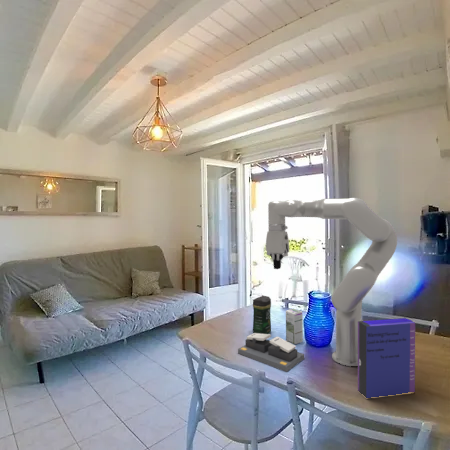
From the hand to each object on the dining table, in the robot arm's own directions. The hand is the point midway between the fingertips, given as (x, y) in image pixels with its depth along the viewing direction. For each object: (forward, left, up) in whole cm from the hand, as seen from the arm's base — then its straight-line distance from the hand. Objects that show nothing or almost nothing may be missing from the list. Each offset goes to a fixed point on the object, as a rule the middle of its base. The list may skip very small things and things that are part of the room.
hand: (277, 268), depth 141 cm
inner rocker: (-10, +12, -28) cm, 32 cm away
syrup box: (-4, -8, -35) cm, 36 cm away
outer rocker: (+2, +12, -28) cm, 31 cm away
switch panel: (-4, +12, -35) cm, 37 cm away
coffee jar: (+13, -6, -35) cm, 38 cm away
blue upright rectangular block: (-48, +9, -35) cm, 60 cm away
